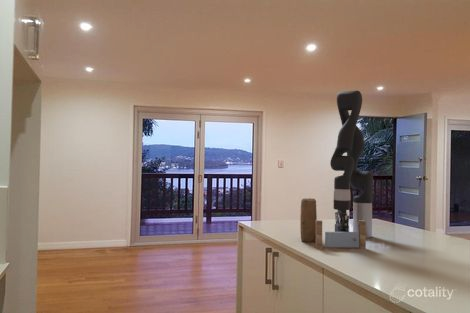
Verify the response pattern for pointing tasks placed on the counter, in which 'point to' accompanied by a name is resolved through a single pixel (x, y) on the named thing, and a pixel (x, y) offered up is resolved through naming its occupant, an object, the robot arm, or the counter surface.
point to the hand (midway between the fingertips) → (341, 236)
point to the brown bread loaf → (308, 220)
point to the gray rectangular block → (338, 228)
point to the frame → (361, 246)
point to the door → (342, 239)
